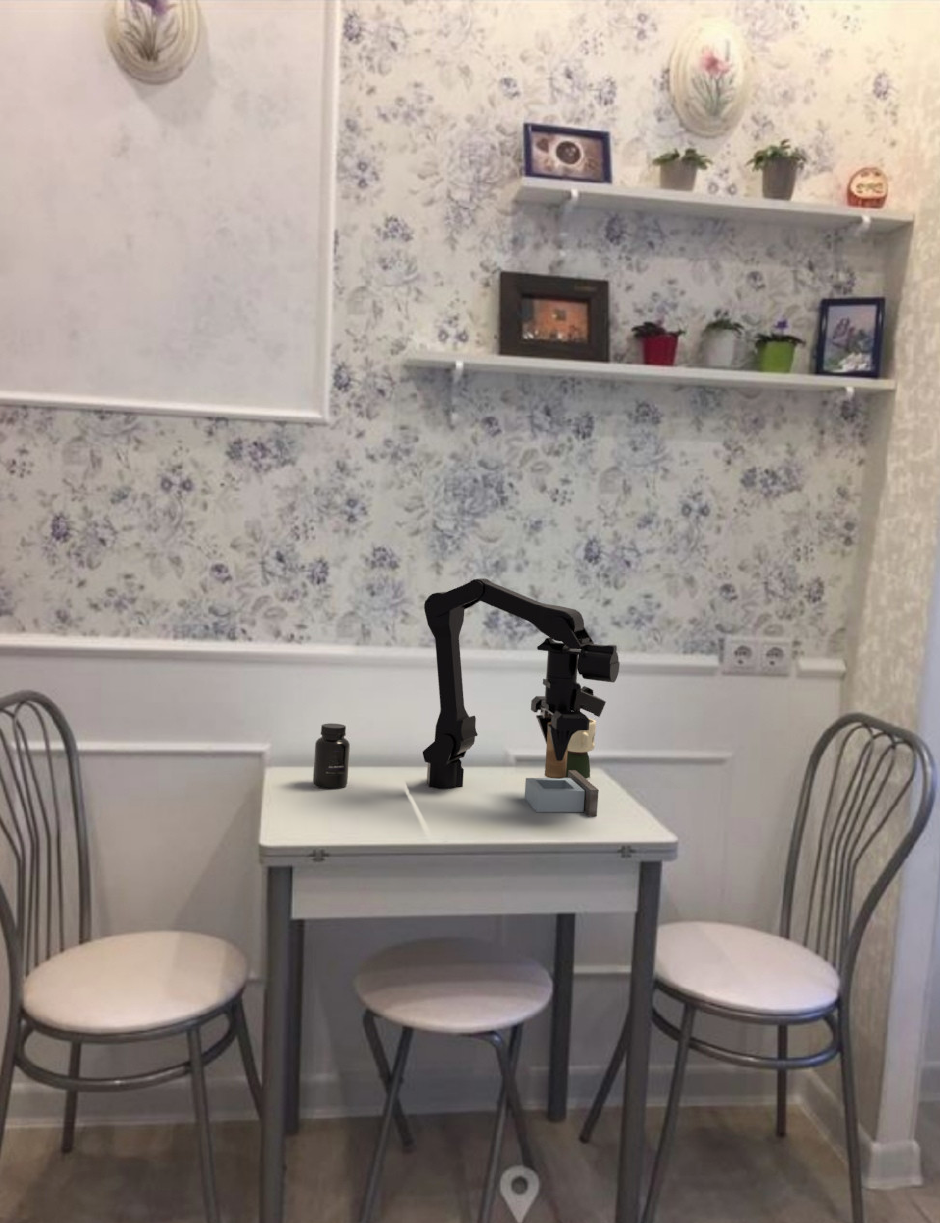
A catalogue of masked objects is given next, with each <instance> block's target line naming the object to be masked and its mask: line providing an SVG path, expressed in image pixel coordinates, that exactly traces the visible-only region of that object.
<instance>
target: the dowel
mask: <svg viewBox="0 0 940 1223" xmlns="http://www.w3.org/2000/svg"><path fill="white" fill-rule="evenodd" d="M548 724H552V723H551V722H549V723H548ZM567 753H568V746H567V749H566V752H565V755H564V757H563V760H562V761H557V760H556V757H555V753H554V750H553V746H552V742H551V738H550V734H549V730H548V732H547V744H546V748H545V762H544V763H545V765H544V776H545V778H555V779H562V778H565V777H566V767H567Z"/></svg>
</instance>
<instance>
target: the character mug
mask: <svg viewBox="0 0 940 1223" xmlns="http://www.w3.org/2000/svg"><path fill="white" fill-rule="evenodd" d="M587 718H588V719H589V720H590V722H589V730H587V731H585V730H580V731H577V732H575V733H574V734H573V735H572V736H571V739H570V741H569V744H568V753H567V767H566V777H565V778H568V770H576V771H577V772H578V773H579V774H581V775H582V776H583V777H584V778H585V779H586V780H587V779H588V778H589V779H590V778H591V766H590V755H589V752H592V751H593V750H594V749H595V735H596V732H597V731H596V727H597V726H596V725H597V721H596V720H595V719H592V718H589V717H587Z"/></svg>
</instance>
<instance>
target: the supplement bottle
mask: <svg viewBox="0 0 940 1223" xmlns="http://www.w3.org/2000/svg"><path fill="white" fill-rule="evenodd" d="M346 732H347V730H346V725H345V724H340V723H333V722H332V723H323V724H321V729H320V735H321V737H319V738H317V740H316V741H315V744H314V758H313V773H312V774H313V775H312V776H313V777H312V778H313V779H312V781H313V785H314V786H315V787H318V788H321V789H324V790H325V789H327V790H334V789H335V790H338V789H342V788H345V787H346V786H347V785H348V781H349V780H348V779H349V762H350V749H351V748H350V747H351V745H350V741H349V740H348V739H346V738H345V737H346V735H347V733H346Z"/></svg>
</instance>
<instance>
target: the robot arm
mask: <svg viewBox="0 0 940 1223" xmlns="http://www.w3.org/2000/svg"><path fill="white" fill-rule="evenodd" d="M479 602H482V603H485V604H487V605H490V606H492V607H494V608H497V609H499V610H501V611H503V612H506V613H508V614H511V615H513V616H515V617H518V618H519V619H522V620H524V621H527V622H528V623H530V624H531V625H533V626H534V627H535V628H536V629H537V630H538V631H540V632H541V633H543V634H544V635H546V636H547V637H546V638H545V639H544V640H543V641H542V643H540V645H538V646H536V650H537V651H545V652H547V659H546V674H545V678H543V679H542V685H543V686H545V688H544V689H545V691H544V695H543V696H542V695H541V696H540V695H536V696H535V697H534V698H532V700H531V701H530V702H531V703H530V710H531V712H533V713H538V711H540V714H537V715H536V716H535V717H536V719H537V722H538V725H539V727H540V730H541V732H542V736H543V738H544V741H545V744H546V745H547V732H548V730H549V734H550V738H551V742H552V746H553V750H554V753H555V757H556V760H557V761H562V760H563V757H564V755H565V752H566V749H567V746H568V744H569V741H570V739H571V736H572V735H573V734H574V733H575V732H577V731H580V730H585V731H587V730H589V722H590V720H589V719H590V718H589V717H588V716H587V715H586V714H585V713H583V712H582V711H581V709H582V710H584V711H586V712H588V713H591V714H593V715H594V716H595V717H598V718H600V717H601V714H602V712H603V710H604V708H605V705H606V703H607V701H606V700H603V699H602V698H600V697H598V696H596V695H594V689H592V688H591V687H588V686H585V685H584V686H582V685H580V683H578V679H577V678H578V674H579V675H580V676H582V678H583V679H584V680H590V681H591V680H592V681H598V682H606V683H613V684H614V683H615V682H616V680H617V679H618V676H619V672H620V664H621V663H620V660H619V654H618V652H617V647H618V646H617V645H616V644H598V643H596V644H595V642H594V641H593V639H592V637H591V635H590V634H589V632H588V631H587V629H586V628H585V620H584V618H583V615H582V613H581V612H580V611H578V610H577V609H575V608H571V607H566V606H561V605H556V604H554V605H553V604H550V603H549V604H547V603H544V602H543V603H542V602H540V601H537V600H535V599H533V598H530V597H528V596H525V595H523V594H521V593H518V592H515V591H514V590H511V589H508V588H507V587H505V586H502V585H499V584H497V583H494V582H492V581H491V580H490V579H487V578H475V579H471V580H470V581H468V582H467V583H465V584H463V585H460V586H458V587H456V588H453V589H449V590H447V591H440V592H434V593H431V594H430V595H429V596H428V597H427V598H426V600H424V605H423V610H424V615H425V618H426V622H427V623H426V624H427V626H428V628H429V630H430V632H431V634H432V635H433V637H434V641H435V642H434V643H435V654H436V666H437V679H438V692H439V705H440V709H439V714H438V718H437V721H436V723H435V724H436V725H435V728H434V729H435V732H434V741H433V742H432V743H431V744H429V745H428V746H427V747H426V748H425V749H424V750H422V756H423V760H424V761H423V762H425V763H426V764H427V772H426V785H427V786H428V788H433V789H439V790H453V789H456V788H463V787H464V770H465V769H464V767H463V766H462V760H461V759H463V758H464V757H465V756H466V753H467V751H468V750H470V749H471V748H472V747H473V745H474V744H475V741H476V737H478V732H477V730H476V729H477V728H476V721H477V718H476V715H471V716H469V714H468V712H467V710H466V707H465V700H464V686H463V684H464V683H463V673H462V672H463V671H462V660H461V648H460V647H461V645H460V634H461V631H462V627H463V625H464V622H465V610H467V609H469V608H471V607H473V606H474V605H477V604H478V603H479ZM588 718H589V719H588ZM549 722H551V723H552V724H548V723H549Z"/></svg>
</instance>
